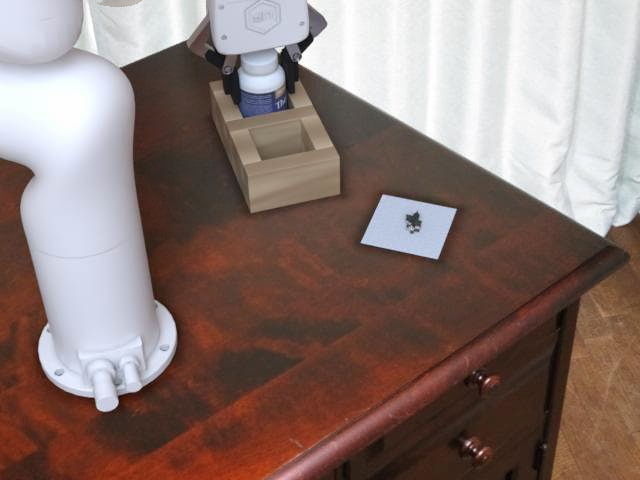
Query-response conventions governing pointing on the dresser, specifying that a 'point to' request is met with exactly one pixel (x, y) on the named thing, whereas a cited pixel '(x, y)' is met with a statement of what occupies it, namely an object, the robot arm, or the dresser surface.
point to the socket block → (277, 151)
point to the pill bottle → (261, 83)
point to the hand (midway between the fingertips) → (261, 90)
